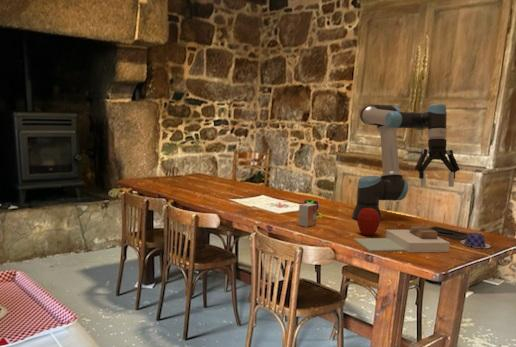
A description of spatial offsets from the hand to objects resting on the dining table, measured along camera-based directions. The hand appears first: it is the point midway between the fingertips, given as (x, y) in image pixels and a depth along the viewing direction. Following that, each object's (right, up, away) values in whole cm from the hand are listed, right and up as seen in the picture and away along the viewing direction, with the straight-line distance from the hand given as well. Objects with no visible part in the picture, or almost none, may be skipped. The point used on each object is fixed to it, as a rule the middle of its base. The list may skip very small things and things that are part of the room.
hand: (437, 186), depth 177 cm
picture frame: (+12, -24, +16) cm, 32 cm away
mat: (-28, -25, -7) cm, 38 cm away
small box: (-55, -20, +23) cm, 63 cm away
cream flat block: (-11, -25, -4) cm, 28 cm away
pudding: (+17, -26, 0) cm, 31 cm away
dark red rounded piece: (-28, -23, +9) cm, 38 cm away
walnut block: (-8, -21, -4) cm, 23 cm away
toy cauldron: (-50, -18, +46) cm, 71 cm away
